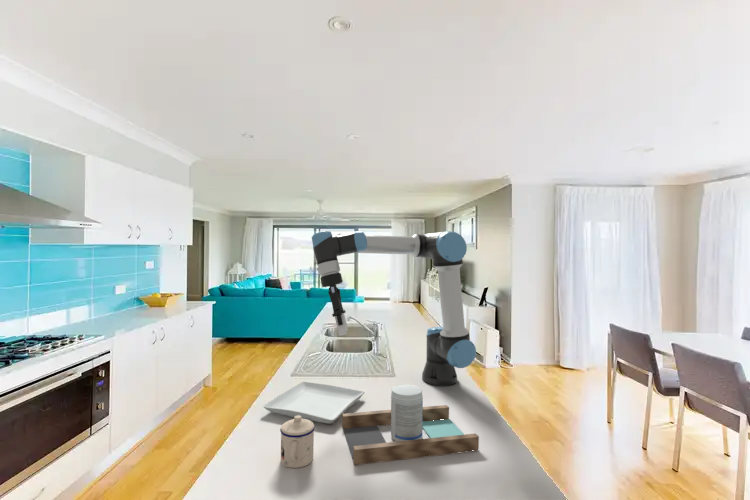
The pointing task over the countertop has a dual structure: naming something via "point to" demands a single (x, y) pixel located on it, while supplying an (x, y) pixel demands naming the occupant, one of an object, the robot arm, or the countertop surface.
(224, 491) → the countertop surface
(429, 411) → the channel rails
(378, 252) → the robot arm
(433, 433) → the pad
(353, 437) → the trap mat
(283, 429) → the teacup with lid
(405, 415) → the supplement tub
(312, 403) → the square plate
